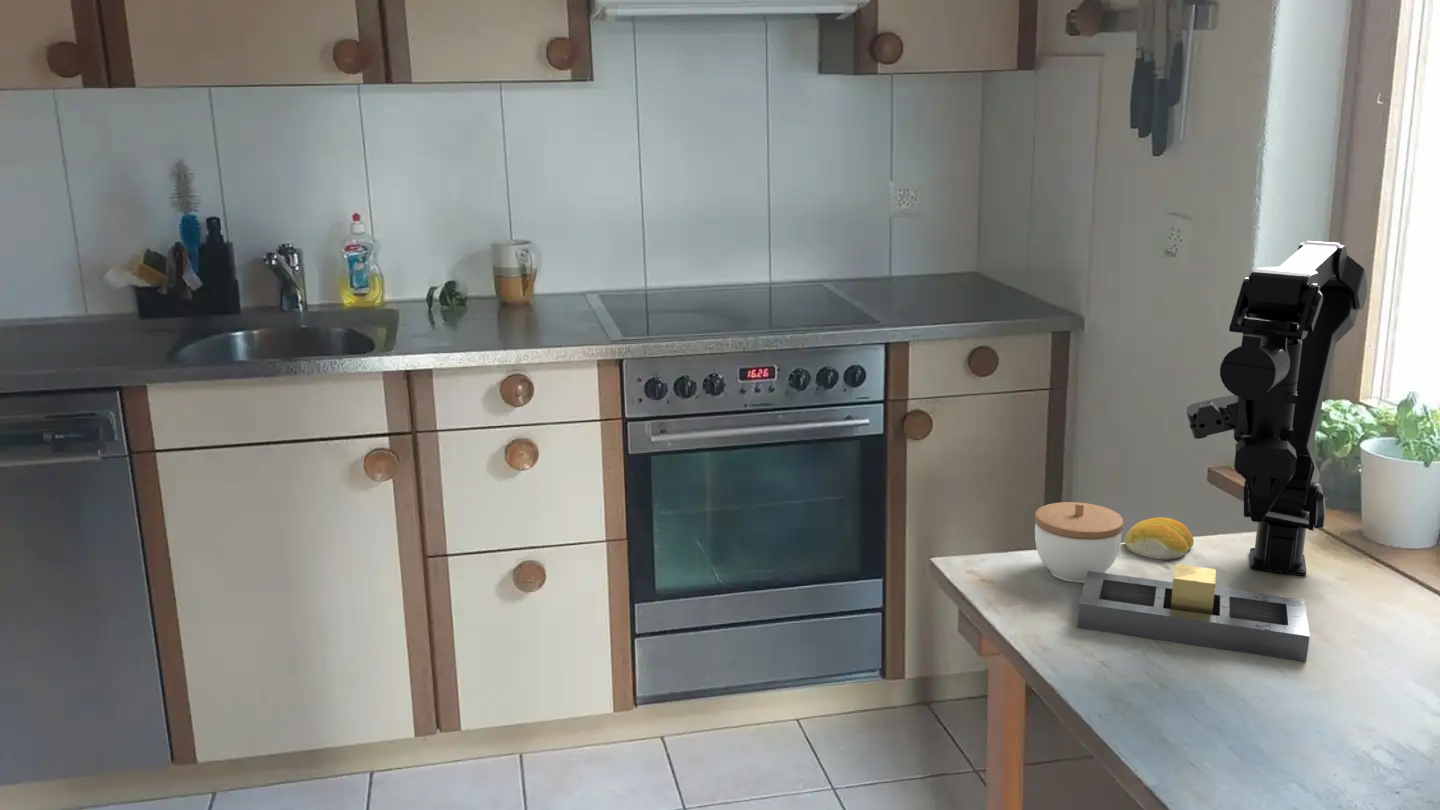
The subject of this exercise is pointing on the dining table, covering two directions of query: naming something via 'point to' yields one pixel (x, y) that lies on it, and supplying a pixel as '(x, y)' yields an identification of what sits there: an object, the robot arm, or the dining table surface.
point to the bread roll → (1159, 538)
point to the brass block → (1193, 589)
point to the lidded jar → (1077, 539)
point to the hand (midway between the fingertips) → (1255, 508)
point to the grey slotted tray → (1195, 616)
